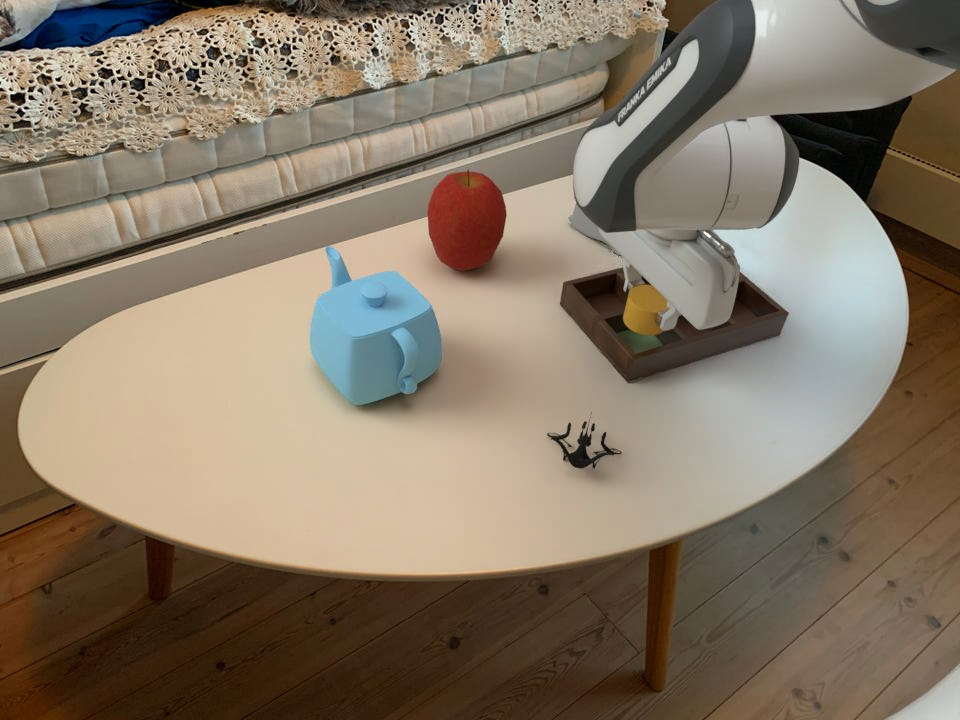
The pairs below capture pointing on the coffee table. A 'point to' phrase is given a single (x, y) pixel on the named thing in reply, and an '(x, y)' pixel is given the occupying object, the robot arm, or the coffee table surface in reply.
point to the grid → (639, 356)
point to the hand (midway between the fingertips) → (647, 309)
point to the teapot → (373, 334)
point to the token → (644, 310)
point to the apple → (466, 219)
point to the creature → (582, 448)
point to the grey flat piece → (586, 226)
